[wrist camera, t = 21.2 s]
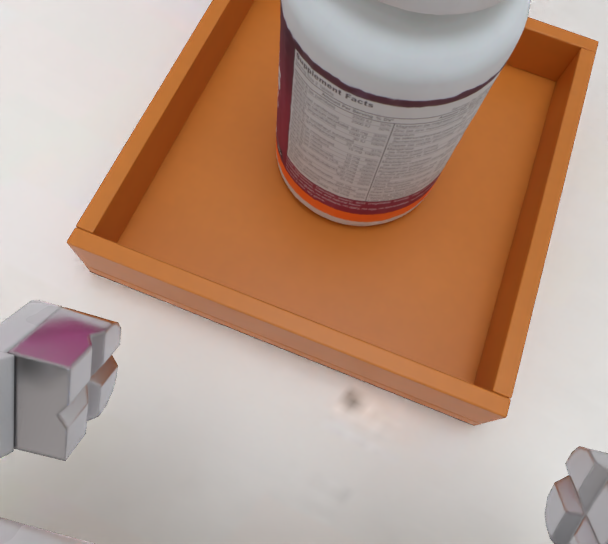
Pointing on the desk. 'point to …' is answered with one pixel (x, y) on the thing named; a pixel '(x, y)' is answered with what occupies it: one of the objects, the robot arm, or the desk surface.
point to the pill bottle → (382, 96)
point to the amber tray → (339, 237)
